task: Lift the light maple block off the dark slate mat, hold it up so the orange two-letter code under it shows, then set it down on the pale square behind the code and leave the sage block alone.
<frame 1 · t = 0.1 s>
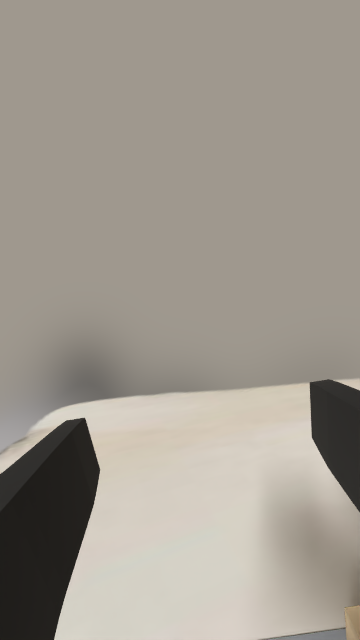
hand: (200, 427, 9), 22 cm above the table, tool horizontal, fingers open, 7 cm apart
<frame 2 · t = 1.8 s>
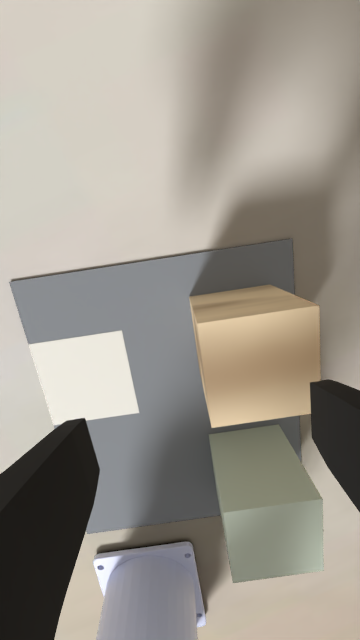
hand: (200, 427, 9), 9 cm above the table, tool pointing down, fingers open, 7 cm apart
maple block: (233, 329, 18), resting on slate mat
slate mat: (175, 406, 19), on the table
sage block: (246, 458, 21), resting on slate mat
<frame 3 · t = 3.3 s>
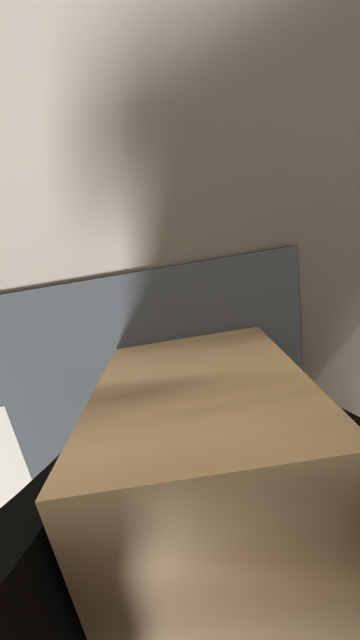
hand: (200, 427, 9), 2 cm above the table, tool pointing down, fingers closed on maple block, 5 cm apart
maple block: (196, 400, 10), resting on slate mat, touching gripper
slate mat: (109, 517, 12), on the table
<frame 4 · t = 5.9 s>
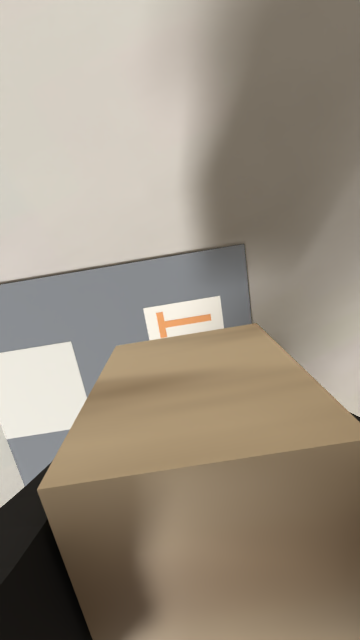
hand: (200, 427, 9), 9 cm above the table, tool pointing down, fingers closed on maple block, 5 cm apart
maple block: (196, 396, 11), point 7 cm above the table, touching gripper
slate mat: (132, 418, 19), on the table
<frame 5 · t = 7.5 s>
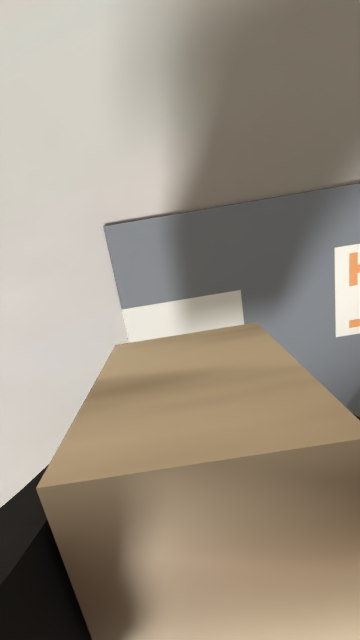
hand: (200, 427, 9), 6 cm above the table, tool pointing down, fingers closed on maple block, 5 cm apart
maple block: (196, 396, 11), point 4 cm above the table, touching gripper
slate mat: (295, 388, 16), on the table
when the fingers open (3 cm above the table, at t = 8.6 s): maple block drops 1 cm, resting on slate mat.
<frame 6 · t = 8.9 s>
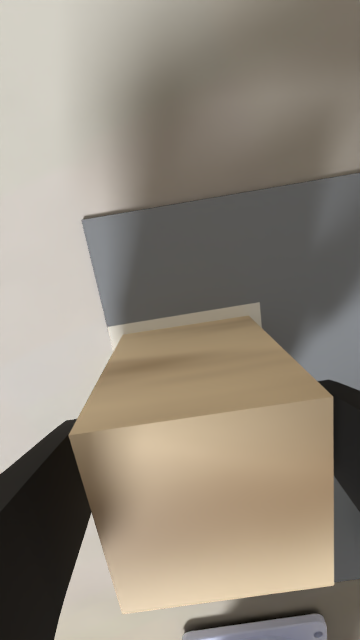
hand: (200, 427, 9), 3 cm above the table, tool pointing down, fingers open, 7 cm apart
maple block: (194, 382, 12), resting on slate mat
slate mat: (325, 422, 13), on the table
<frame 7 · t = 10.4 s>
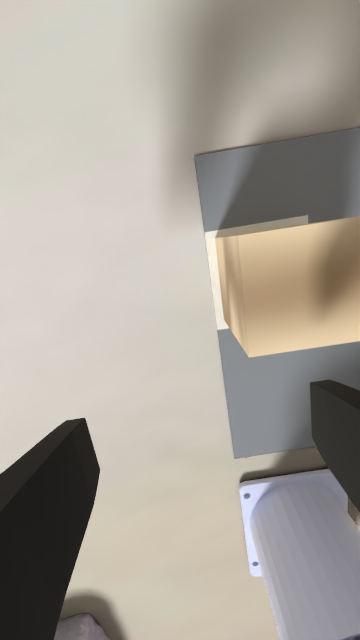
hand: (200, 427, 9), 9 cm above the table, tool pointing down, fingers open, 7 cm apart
maple block: (260, 274, 17), resting on slate mat
slate mat: (350, 308, 18), on the table
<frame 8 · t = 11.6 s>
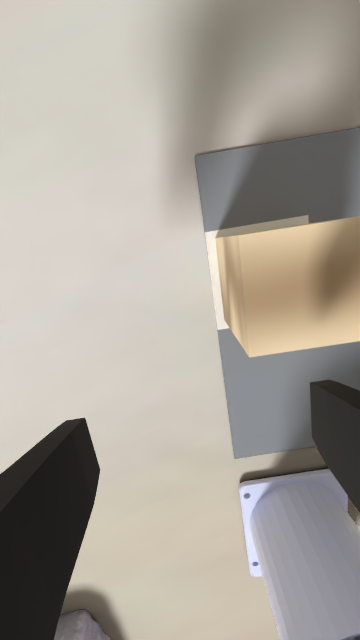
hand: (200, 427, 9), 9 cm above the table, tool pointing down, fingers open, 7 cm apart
maple block: (260, 274, 17), resting on slate mat
slate mat: (350, 308, 18), on the table
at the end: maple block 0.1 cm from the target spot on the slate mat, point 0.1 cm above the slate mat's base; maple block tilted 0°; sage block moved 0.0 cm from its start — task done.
